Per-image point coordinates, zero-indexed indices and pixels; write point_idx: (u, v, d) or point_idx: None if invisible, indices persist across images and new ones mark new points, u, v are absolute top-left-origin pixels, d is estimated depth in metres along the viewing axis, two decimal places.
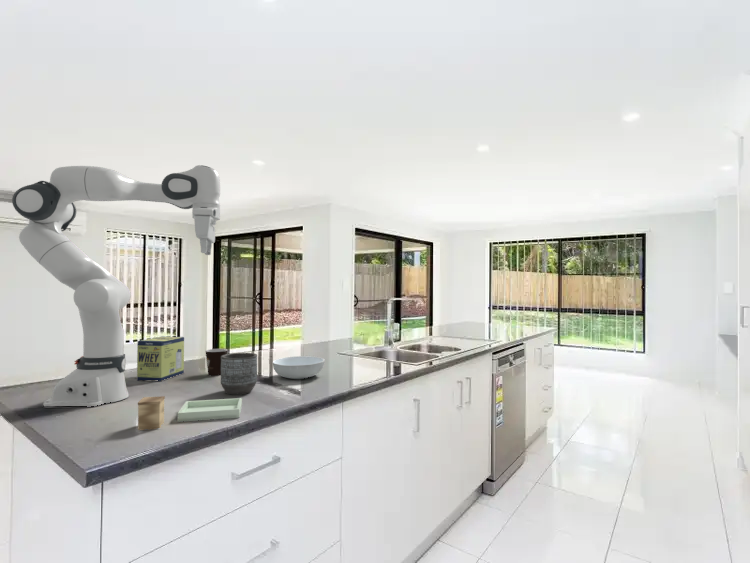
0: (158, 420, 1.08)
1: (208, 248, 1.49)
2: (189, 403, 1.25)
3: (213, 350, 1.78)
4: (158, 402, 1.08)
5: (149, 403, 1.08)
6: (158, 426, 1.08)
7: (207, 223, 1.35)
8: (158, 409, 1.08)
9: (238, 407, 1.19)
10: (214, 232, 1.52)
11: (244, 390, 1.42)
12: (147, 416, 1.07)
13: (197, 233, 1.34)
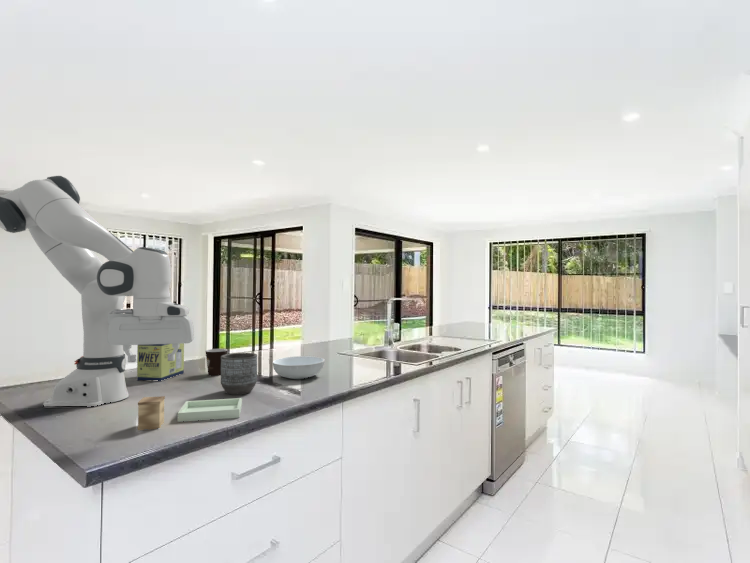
0: (158, 420, 1.08)
1: (130, 353, 1.09)
2: (189, 403, 1.25)
3: (213, 350, 1.78)
4: (158, 402, 1.08)
5: (149, 403, 1.08)
6: (158, 426, 1.08)
7: (192, 325, 1.14)
8: (158, 409, 1.08)
9: (238, 407, 1.19)
10: None
11: (244, 390, 1.42)
12: (147, 416, 1.07)
13: (191, 338, 1.11)
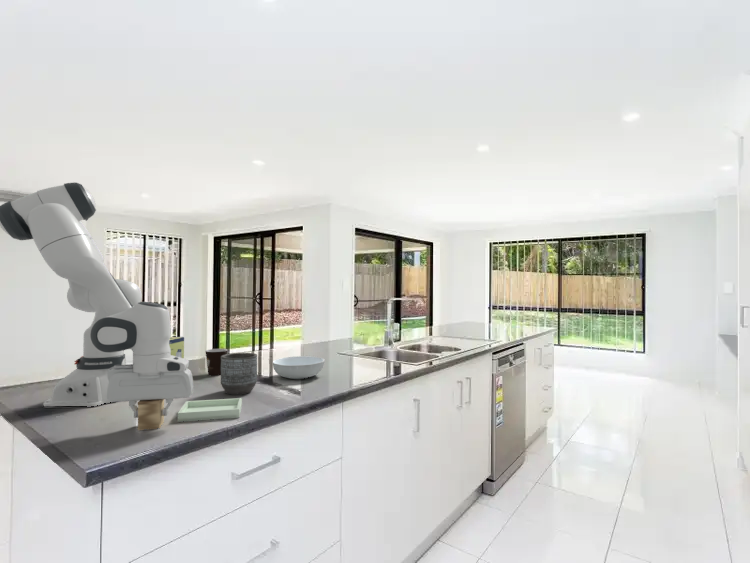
0: (158, 420, 1.08)
1: (136, 407, 1.09)
2: (189, 403, 1.25)
3: (213, 350, 1.78)
4: (158, 402, 1.08)
5: (149, 403, 1.08)
6: (158, 426, 1.08)
7: (192, 377, 1.14)
8: (158, 409, 1.08)
9: (238, 407, 1.19)
10: None
11: (244, 390, 1.42)
12: (147, 416, 1.07)
13: (191, 392, 1.11)
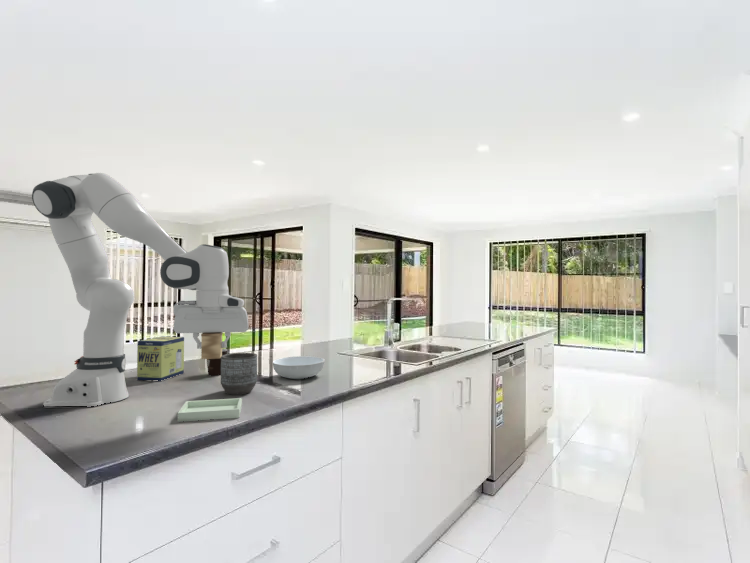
0: (219, 351, 1.19)
1: (198, 340, 1.21)
2: (189, 403, 1.25)
3: None
4: (219, 334, 1.19)
5: (211, 335, 1.19)
6: (219, 356, 1.19)
7: (247, 315, 1.25)
8: (219, 341, 1.19)
9: (238, 407, 1.19)
10: None
11: (244, 390, 1.42)
12: (209, 346, 1.19)
13: None
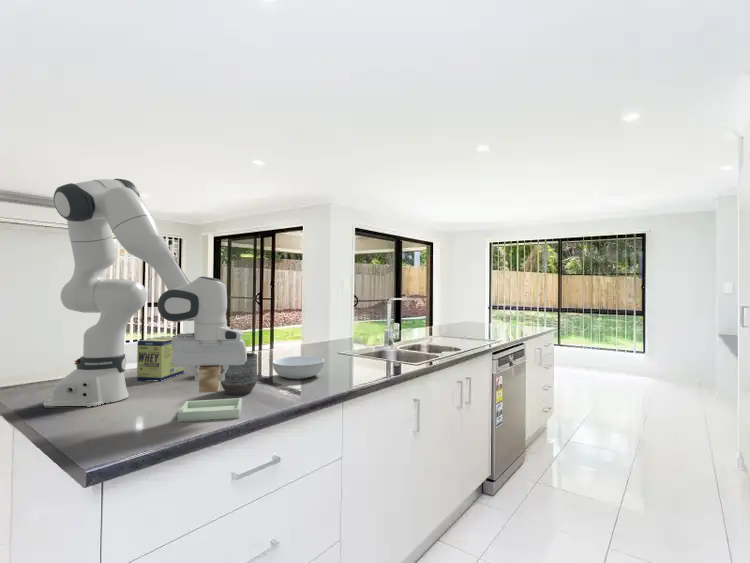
0: (217, 384, 1.18)
1: (196, 373, 1.20)
2: (189, 403, 1.25)
3: None
4: (217, 367, 1.18)
5: (209, 368, 1.18)
6: (217, 389, 1.18)
7: (245, 347, 1.24)
8: (217, 374, 1.19)
9: (238, 407, 1.19)
10: None
11: (244, 390, 1.42)
12: (207, 380, 1.18)
13: (246, 359, 1.21)
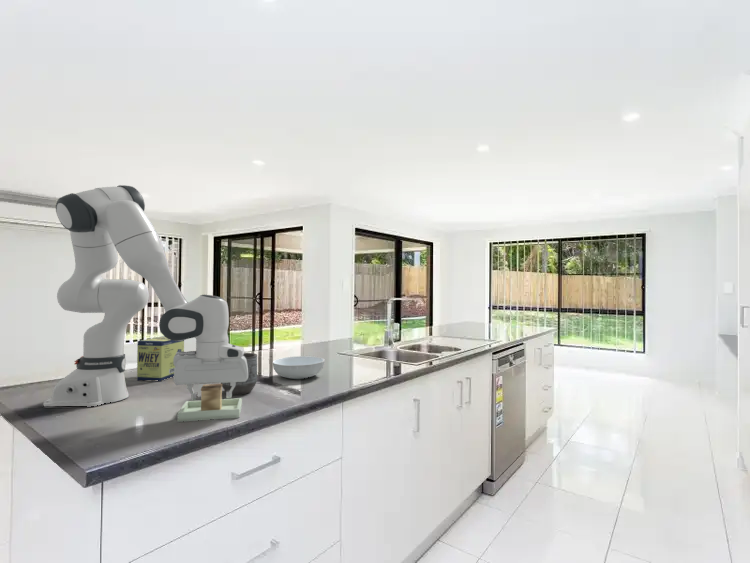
0: (219, 405, 1.19)
1: (193, 390, 1.20)
2: (189, 403, 1.25)
3: None
4: (219, 388, 1.19)
5: (211, 389, 1.19)
6: None
7: None
8: (219, 395, 1.19)
9: (238, 407, 1.19)
10: None
11: (244, 390, 1.42)
12: (209, 401, 1.19)
13: (247, 377, 1.23)
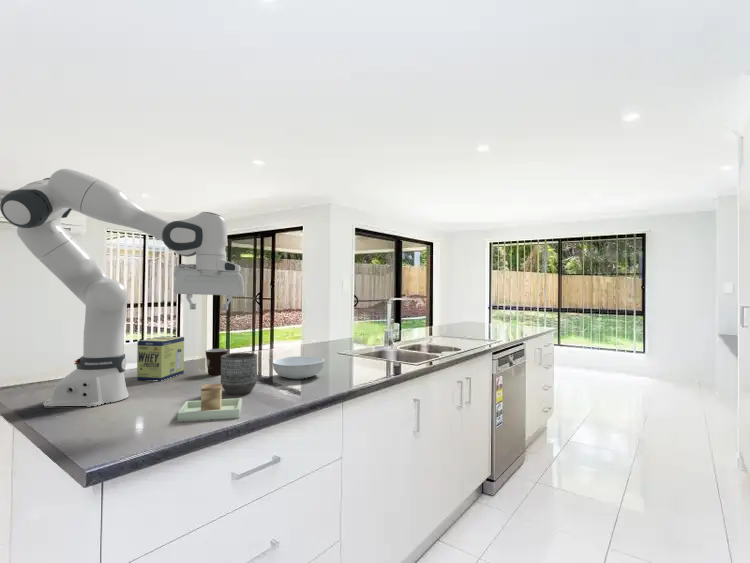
0: (219, 405, 1.19)
1: (191, 301, 1.28)
2: (189, 403, 1.25)
3: (213, 350, 1.78)
4: (219, 388, 1.19)
5: (211, 389, 1.19)
6: None
7: None
8: (219, 395, 1.19)
9: (238, 407, 1.19)
10: None
11: (244, 390, 1.42)
12: (209, 401, 1.19)
13: (243, 291, 1.30)
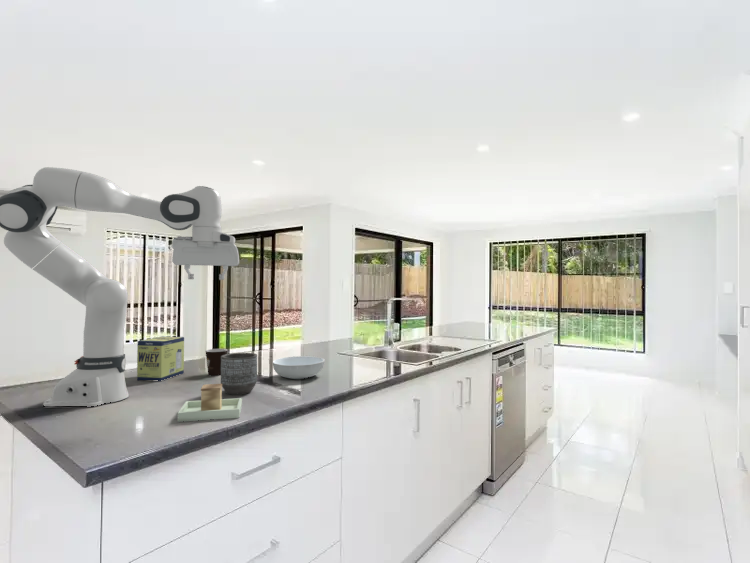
0: (219, 405, 1.19)
1: (189, 272, 1.35)
2: (189, 403, 1.25)
3: (213, 350, 1.78)
4: (219, 388, 1.19)
5: (211, 389, 1.19)
6: None
7: None
8: (219, 395, 1.19)
9: (238, 407, 1.19)
10: None
11: (244, 390, 1.42)
12: (209, 401, 1.19)
13: (238, 261, 1.37)
